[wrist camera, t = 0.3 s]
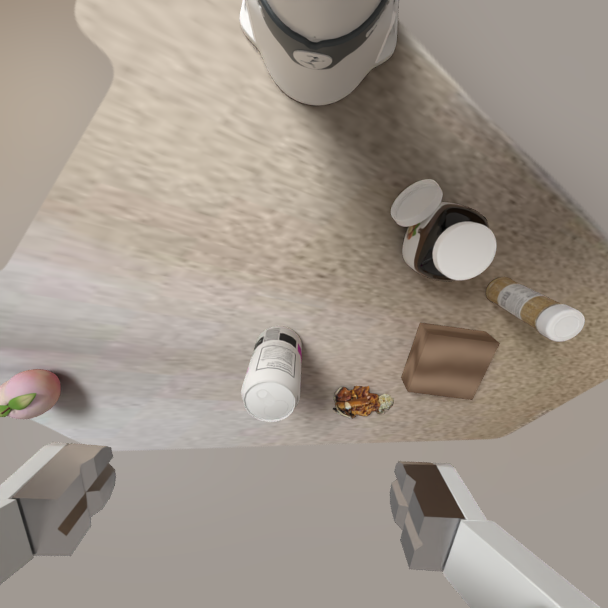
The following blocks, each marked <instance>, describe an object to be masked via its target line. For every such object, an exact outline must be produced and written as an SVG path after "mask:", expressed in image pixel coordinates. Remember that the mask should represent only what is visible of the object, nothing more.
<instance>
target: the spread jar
mask: <svg viewBox="0 0 608 608" xmlns="http://www.w3.org/2000/svg"><path fill="white" fill-rule="evenodd" d="M442 196H443V193H442V190H441V188H440V186H439V185H438V183H437V182H436V181H435V180H432V179H424V180H420V181H418V182H415V183H414V184H412V185H410V186H409V187H407V188H406V189H405V190H404V191H402V192H401V194H400V195H399V196H398V197H397V198H396V200H395V201H394V203H393V205H392V207H391V216H392V218H393V219H394V220H395V221H396V223H397V224H398V225H400V226H404V227H407V226H408V227H407V230H406V232H405V236H404V240H403V248H402V254H403V258H404V261H405V262H406V263H407V264H408V265H409V266H410V267H411V268H412V269H413V270H415V271H416V272H418V273H419V274H421V275H423V276H425V277H427V278H430V279H433V280H438V281H445V282H451V281H455V280H467V279H471V278H473V277H475V276H477V275H479V274H481V273H482V272H483V271H484V270H485V269H486V268H487V267H488V266H489V265H490V263H491V262H492V260H493V258H494V256H495V253H496V246H497V244H496V238H495V236H494V234H493V232H492V231H491V230H490V229H489V225H488V222H487V220H486V218H485V217H484V216H483V215H482V214H480V213H479V212H478V211H476V210H473V209H471V208H469V207H466V206H463V205H460V204H455V203H448V202H441V200H442Z"/></svg>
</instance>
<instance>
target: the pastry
mask: <svg viewBox="0 0 608 608" xmlns="http://www.w3.org/2000/svg"><path fill="white" fill-rule="evenodd" d="M368 391H369V386H367V387H363V386H354V389H353V390H347V389H346V387H341V388H340V389H339V390H338V391H337V392H335V397H334V398H333V399H334V401H335V406H336V408H333V411H334V412H335V413H338V415H342V416H346V417H347V418H349V419H350V418H354V417H356V416H354V415H359V416H368V415H370V413H371V411H376V412H377V414H384V413H385V412H384V409H387V410H389V409H390V407H392V405H393V398H391V397H390V395H387V394H383V395H381V396H378V395H377V394H373V393H368ZM342 410H343V411H342ZM343 412H346V414H345V413H343Z"/></svg>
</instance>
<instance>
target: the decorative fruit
mask: <svg viewBox="0 0 608 608" xmlns="http://www.w3.org/2000/svg"><path fill="white" fill-rule="evenodd" d="M60 392H61V385H60V381H59V378H58V377H57V376H56V375H55V374H54V373H52V372H50V371H47V370H42V369H33V370H27V371H23V372H21V373H18V374H16V375H15V376H13V377H12V378H11V379H10V380H9V381H7V382H5V383H4V384H2V385H1V386H0V417H5V416H9V417H12V418H16V419H30V418H34V417H37V416H39V415H41V414H43V413H45V412H46V411H48V410H49V409H51V408H52V407H53V406H54V405H55V404H56V402H57V401H58V399H59V396H60Z"/></svg>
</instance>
